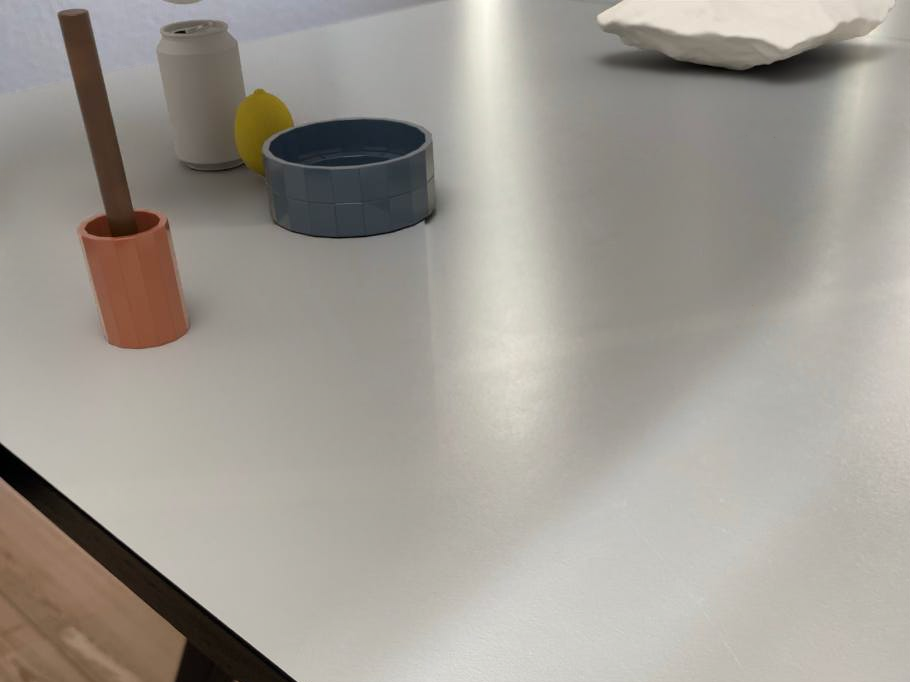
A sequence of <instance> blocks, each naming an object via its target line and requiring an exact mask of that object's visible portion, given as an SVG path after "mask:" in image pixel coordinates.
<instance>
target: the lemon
mask: <svg viewBox="0 0 910 682" xmlns="http://www.w3.org/2000/svg"><path fill="white" fill-rule="evenodd" d="M293 126H295V123H294V119H293V117H292V115H291V112H290V110H289V108H288V107H287V105H286V104H285V102H284V101H282V100H281V99H280V98H279V97H277V96H276V95H274V94H272V93H269V92H266V91H265V89H263V88H255V90H254V91H253V93H251V94H249V95H247V96H246V98H245V99H244V100H243V101H242V103H241V104H240V105H239V107H238V109H237V113H236V117H235V140H236V145H237V148H238V151H239V154H240V156H241V158H242V160H243V161H244V164H245V165H246V166H247V167H248V168H249V170H251V171H252V172H254V173H255V174H258V175H261V176H263V177H264V178H265V179H266V177H265V171H264V164H263V157H262V151H261V150H262V147H263V144H264V141H266V140H267V139H268V138H270V137H271V136H272V135H274V134H276V133H278V132H281V131H283V130H286V129H288V128H290V127H293Z"/></svg>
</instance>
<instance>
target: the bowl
mask: <svg viewBox="0 0 910 682" xmlns="http://www.w3.org/2000/svg"><path fill="white" fill-rule="evenodd" d="M433 139H434V138H433V134H432V132H430V131H429V130H428V129H427V128H426V127H424V126H422V125H419V124H416V123H413V122H411V121H409V120H408V121H407V120H401V119H395V118H389V117H372V116H357V117H356V116H355V117H354V116H353V117H337V118H329V119H321V120H316V121H315V120H314V121H310V122H307V123H302V124H297V125H294V126H293V127H290V128H288V129H286V130H283V131H281V132H278V133H276V134H274V135H272V136H271V137H270V138H268V139H267V140H266V141H264V144H263V147H262V150H261V151H262V157H263V164H264V171H265V177H266V178H265V177H264V178H265V183H266V191H267V196H268V204H269V209H270V216H271V218H272V219H273V220H274V221H275V223H276V224H277V225H279V226H281V227H283V228H284V229H287V230H289V231H291V232H296V233H301V234H304V235H310V236H313V237H314V236H316V237H329V238H330V237H332V238H343V237H363V236H371V235H372V236H373V235H377V234H382V233H383V234H384V233H389V232H390V233H391V232H393V231H396V230H399V229H403V228H406V227H410V226H412V225H416V224H417V223H418V222H420V221H422V220H424V219H426V218H427V217H429V216H430V215H431V214H432V213H433V212H434V211H435V209H436V207H437V198H436V197H437V195H436V194H437V193H436V176H435V160H434V159H435V157H434V140H433Z"/></svg>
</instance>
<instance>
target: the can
mask: <svg viewBox="0 0 910 682" xmlns="http://www.w3.org/2000/svg"><path fill="white" fill-rule="evenodd" d="M228 29H229V24H228V23H227V22H225V21H224V20H218V19H190V20H181V21H177V22H171V23H169V24H166V25H163V26H162V27H160V29H159V34H161V38H160V40H159V42H158V44H157V45H156V48H155V52H156V58H157V62H158V67H159V72H160V77H161V78H160V79H161V82H162V83H161V84H162V87H163V88H162V89H163V92H164V97H165V102H166V108H167V113H168V117H169V123H170V128H171V133H172V139H173V143H174V148H175V153H176V157H177V158H178V159H179V160H180V161H182V162H183V163H184V164H186V165H187V166H188V168H190V169H192V170H193V169H194V170H199V171H222V170H228V169H232V168H235V167H239V166H240V165H243V164H245V162H244V161H243V160H242V158H241V156H240V154H239V151H238V148H237V145H236V140H235V117H236V113H237V109H238V107H239V105H240V104H241V103H242V101H243V100H244V99H245V98H246V97H247V95H246V88H245V81H244V76H243V69H242V62H241V55H240V49H239V43H238V39H236V38H235V37H234V36H233V35H232V34H231V33H230V31H228Z"/></svg>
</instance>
